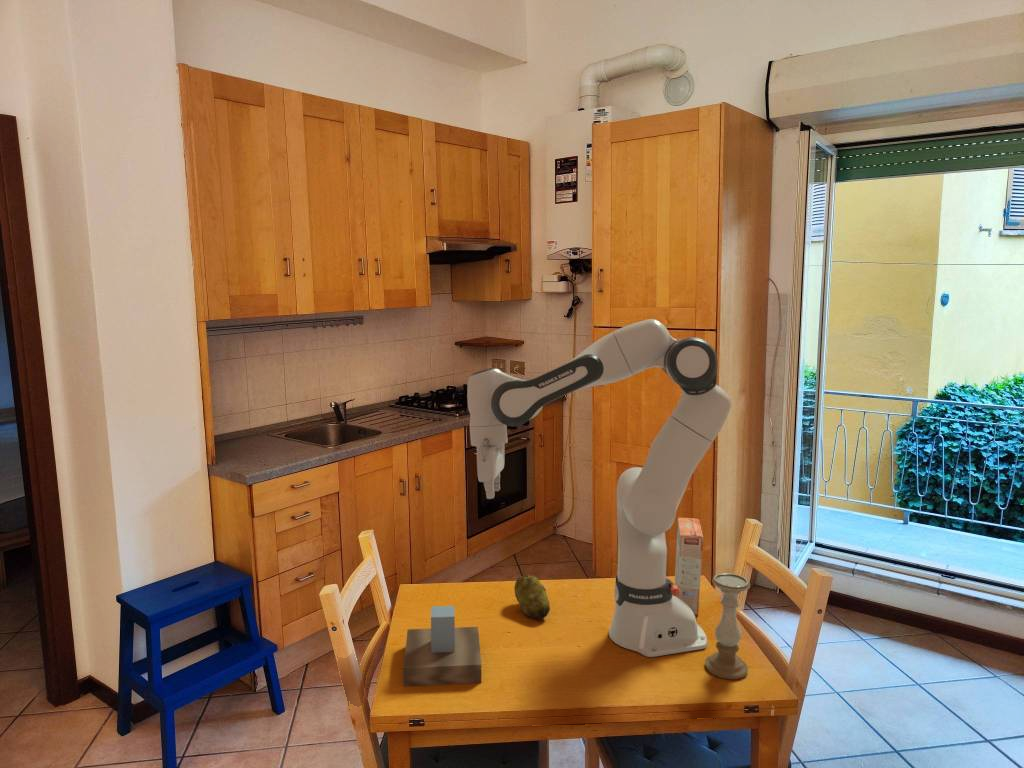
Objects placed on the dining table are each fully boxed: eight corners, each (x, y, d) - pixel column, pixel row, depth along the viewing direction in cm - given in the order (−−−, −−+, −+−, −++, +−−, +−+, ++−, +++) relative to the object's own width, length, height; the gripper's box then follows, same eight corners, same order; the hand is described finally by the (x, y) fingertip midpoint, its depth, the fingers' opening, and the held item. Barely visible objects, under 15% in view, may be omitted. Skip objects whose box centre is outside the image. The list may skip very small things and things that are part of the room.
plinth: (477, 643, 160) (477, 626, 159) (481, 682, 144) (481, 664, 144) (407, 645, 158) (407, 629, 158) (403, 686, 143) (403, 668, 142)
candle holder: (743, 659, 154) (748, 572, 151) (751, 682, 145) (756, 590, 142) (702, 656, 155) (707, 570, 152) (707, 678, 146) (712, 587, 143)
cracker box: (699, 616, 173) (703, 536, 170) (675, 614, 175) (678, 534, 172) (696, 592, 187) (700, 517, 184) (673, 590, 188) (676, 516, 185)
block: (454, 639, 153) (454, 605, 152) (454, 651, 148) (454, 616, 147) (431, 640, 153) (431, 606, 152) (431, 652, 148) (430, 617, 147)
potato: (516, 623, 169) (517, 592, 168) (513, 599, 182) (513, 570, 181) (550, 622, 170) (551, 591, 169) (544, 598, 183) (545, 570, 181)
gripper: (496, 440, 155) (501, 502, 155) (507, 431, 175) (511, 486, 176) (468, 442, 156) (473, 503, 156) (482, 433, 176) (486, 487, 176)
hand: (493, 494), depth 166 cm, fingers open, 8 cm apart
